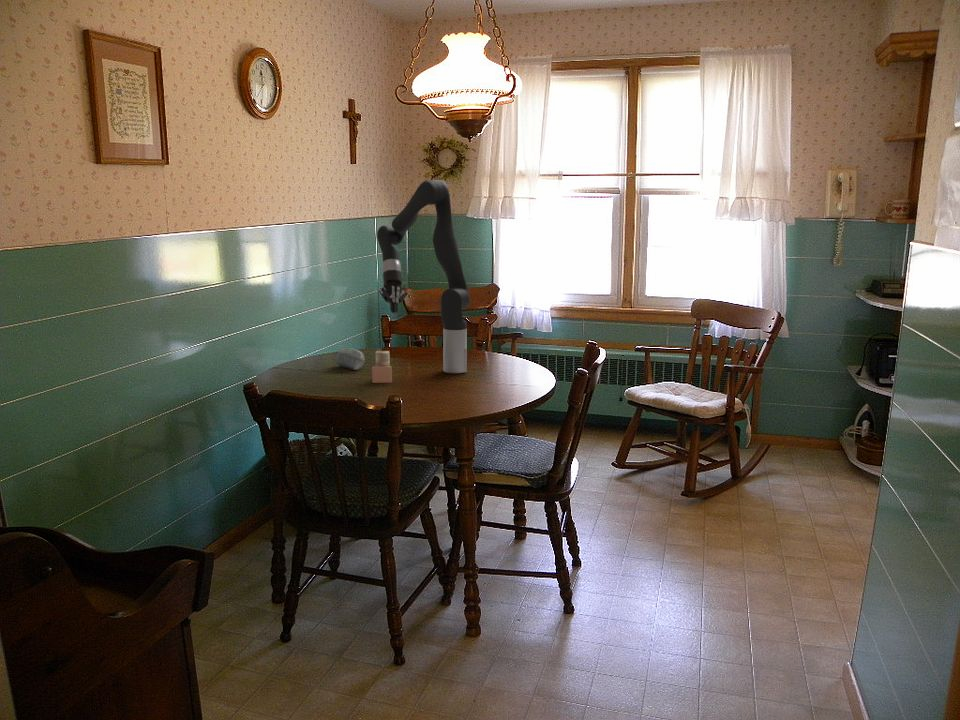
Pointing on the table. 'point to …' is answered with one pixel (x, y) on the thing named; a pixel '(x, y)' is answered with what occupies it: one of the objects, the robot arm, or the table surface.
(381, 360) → the keeper
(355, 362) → the grey rounded lump
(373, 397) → the table surface
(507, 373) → the table surface
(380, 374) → the block
